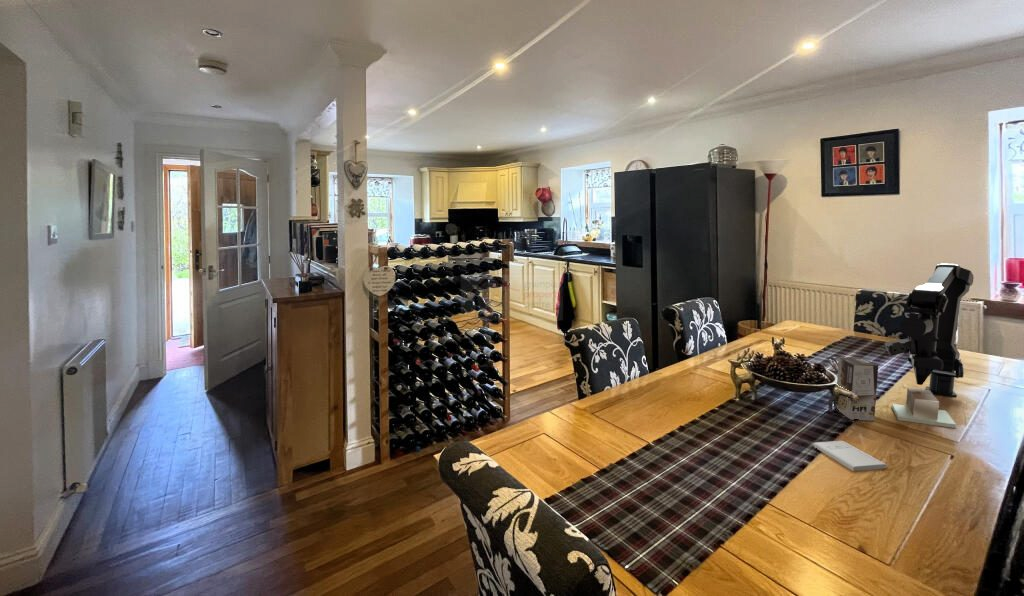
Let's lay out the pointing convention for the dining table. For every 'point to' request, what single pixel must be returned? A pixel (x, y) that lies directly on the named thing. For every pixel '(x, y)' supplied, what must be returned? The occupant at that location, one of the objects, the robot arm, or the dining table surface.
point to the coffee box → (857, 387)
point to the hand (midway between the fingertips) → (919, 384)
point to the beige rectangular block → (922, 403)
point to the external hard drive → (849, 456)
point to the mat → (906, 415)
